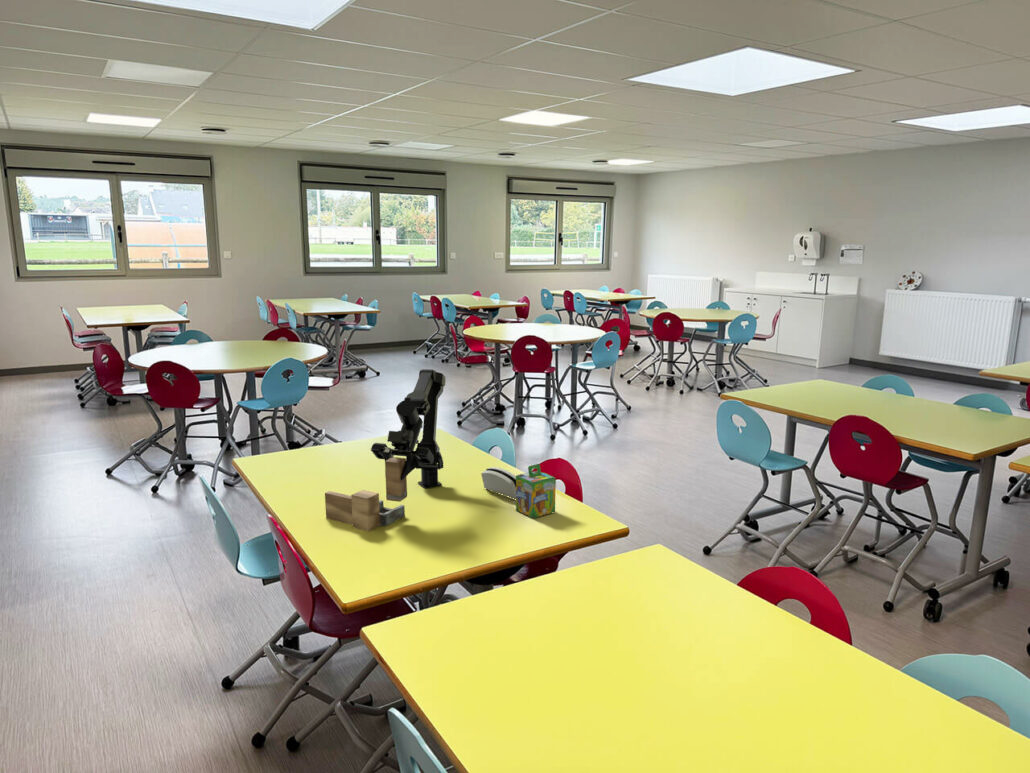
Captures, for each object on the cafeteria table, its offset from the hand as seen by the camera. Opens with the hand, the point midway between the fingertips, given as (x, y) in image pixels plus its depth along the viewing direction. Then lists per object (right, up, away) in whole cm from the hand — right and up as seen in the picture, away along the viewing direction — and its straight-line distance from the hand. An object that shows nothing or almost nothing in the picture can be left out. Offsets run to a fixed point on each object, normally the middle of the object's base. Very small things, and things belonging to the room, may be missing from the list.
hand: (393, 478), depth 206 cm
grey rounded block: (+32, -9, +27) cm, 42 cm away
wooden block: (0, -6, +3) cm, 7 cm away
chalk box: (+42, -12, +11) cm, 45 cm away
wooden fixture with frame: (-10, -13, +5) cm, 17 cm away
